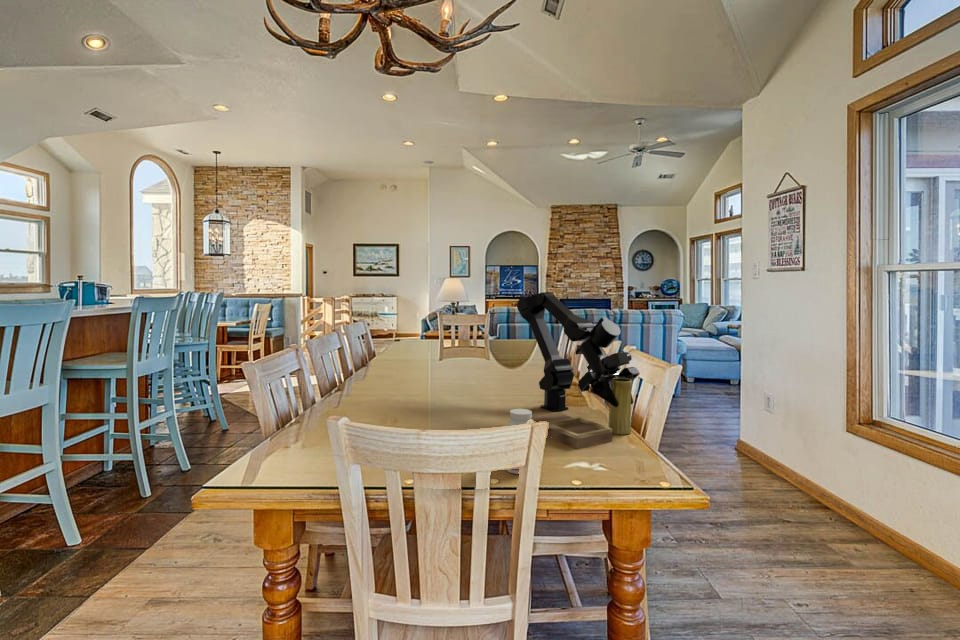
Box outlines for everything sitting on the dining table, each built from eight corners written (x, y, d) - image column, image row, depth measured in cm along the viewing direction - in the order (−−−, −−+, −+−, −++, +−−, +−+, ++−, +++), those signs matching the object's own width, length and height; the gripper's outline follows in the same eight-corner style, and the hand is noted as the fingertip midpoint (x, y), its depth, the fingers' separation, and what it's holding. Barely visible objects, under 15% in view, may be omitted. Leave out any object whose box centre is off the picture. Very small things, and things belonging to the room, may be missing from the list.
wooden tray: (526, 427, 143) (526, 415, 143) (559, 421, 150) (560, 410, 149) (576, 449, 126) (577, 435, 126) (611, 441, 133) (612, 428, 132)
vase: (628, 428, 144) (631, 377, 143) (633, 435, 138) (635, 382, 137) (606, 427, 145) (608, 376, 143) (609, 434, 138) (611, 381, 137)
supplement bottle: (518, 461, 117) (519, 405, 116) (541, 470, 112) (543, 411, 111) (497, 469, 112) (499, 410, 111) (520, 478, 108) (522, 417, 107)
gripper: (587, 342, 137) (616, 392, 129) (636, 338, 147) (666, 384, 139) (566, 366, 145) (592, 415, 136) (614, 361, 155) (641, 407, 146)
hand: (624, 405), depth 139 cm, fingers closed on vase, 5 cm apart
